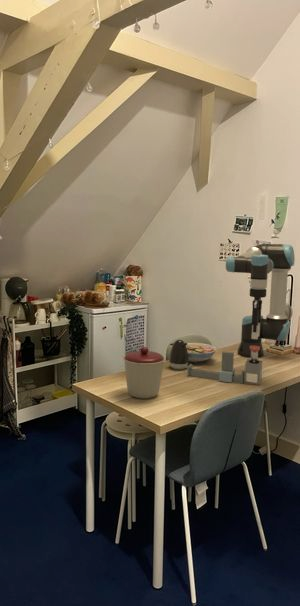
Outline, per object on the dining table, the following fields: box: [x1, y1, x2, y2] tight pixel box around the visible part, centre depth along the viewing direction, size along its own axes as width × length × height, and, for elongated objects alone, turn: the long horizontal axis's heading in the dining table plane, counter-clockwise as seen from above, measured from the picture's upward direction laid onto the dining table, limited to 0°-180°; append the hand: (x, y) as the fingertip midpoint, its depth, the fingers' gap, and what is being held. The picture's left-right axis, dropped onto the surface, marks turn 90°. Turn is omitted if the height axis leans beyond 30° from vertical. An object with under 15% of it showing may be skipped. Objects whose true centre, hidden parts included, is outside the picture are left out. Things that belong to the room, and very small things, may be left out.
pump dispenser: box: [168, 339, 190, 370], centre depth 232 cm, size 10×10×15 cm
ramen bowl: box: [169, 342, 218, 363], centre depth 248 cm, size 25×23×8 cm
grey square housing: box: [243, 358, 263, 386], centre depth 213 cm, size 7×7×10 cm
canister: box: [122, 346, 166, 400], centre depth 192 cm, size 18×18×21 cm
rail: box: [186, 363, 245, 385], centre depth 217 cm, size 5×27×5 cm, turn 69°
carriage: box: [218, 350, 236, 384], centre depth 214 cm, size 7×6×14 cm
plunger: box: [250, 345, 260, 363], centre depth 211 cm, size 5×5×7 cm
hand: (255, 337), depth 210 cm, fingers open, 5 cm apart
